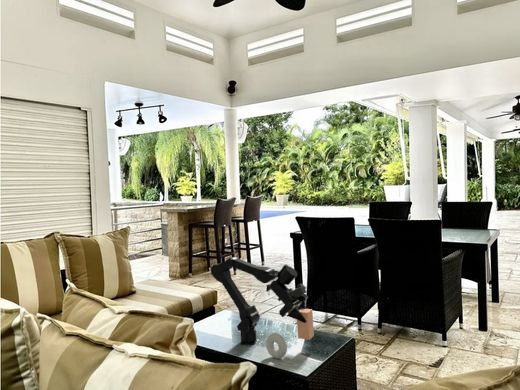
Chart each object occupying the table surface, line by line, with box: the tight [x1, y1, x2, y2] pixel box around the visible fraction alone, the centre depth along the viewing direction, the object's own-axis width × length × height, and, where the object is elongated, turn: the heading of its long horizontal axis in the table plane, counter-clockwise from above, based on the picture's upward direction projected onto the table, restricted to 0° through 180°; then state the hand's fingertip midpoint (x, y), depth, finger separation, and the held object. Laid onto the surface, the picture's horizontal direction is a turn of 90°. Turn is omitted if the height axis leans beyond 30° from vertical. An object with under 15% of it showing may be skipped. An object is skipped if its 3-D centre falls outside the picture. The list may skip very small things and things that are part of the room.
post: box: [296, 308, 315, 341], centre depth 167 cm, size 5×5×11 cm
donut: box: [265, 332, 288, 360], centre depth 161 cm, size 10×4×10 cm, turn 49°
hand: (308, 320), depth 167 cm, fingers closed on post, 5 cm apart
